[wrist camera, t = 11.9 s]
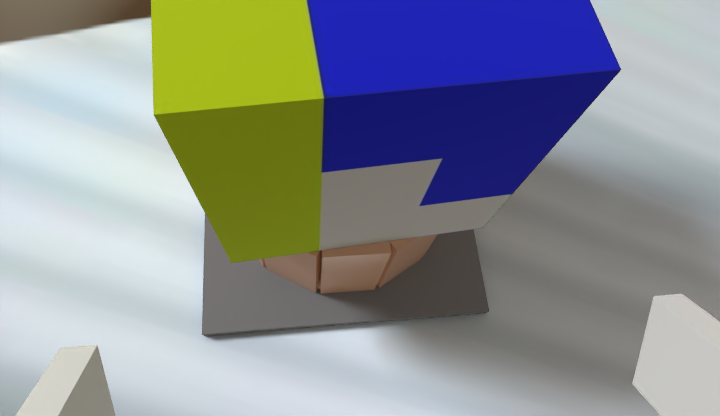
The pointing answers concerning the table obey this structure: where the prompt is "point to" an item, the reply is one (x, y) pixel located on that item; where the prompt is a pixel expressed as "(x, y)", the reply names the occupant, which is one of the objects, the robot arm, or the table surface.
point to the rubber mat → (309, 309)
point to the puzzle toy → (366, 111)
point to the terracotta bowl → (350, 265)
